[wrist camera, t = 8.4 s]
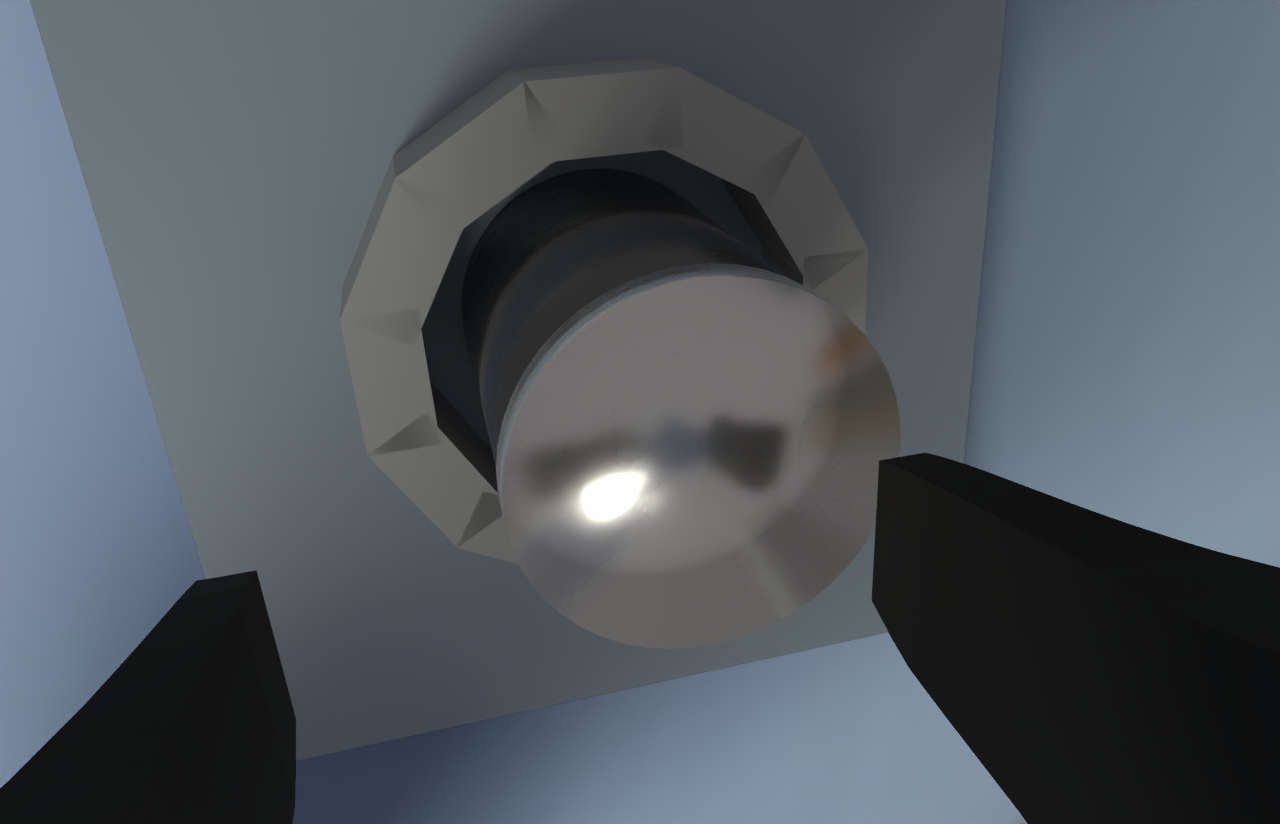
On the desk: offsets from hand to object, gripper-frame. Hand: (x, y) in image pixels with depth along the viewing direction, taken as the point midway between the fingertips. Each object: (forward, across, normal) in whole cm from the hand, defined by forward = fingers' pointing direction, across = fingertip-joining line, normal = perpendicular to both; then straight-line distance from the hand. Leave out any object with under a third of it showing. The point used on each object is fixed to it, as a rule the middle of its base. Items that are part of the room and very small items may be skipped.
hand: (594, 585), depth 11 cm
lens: (+8, -2, -1) cm, 8 cm away
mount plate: (+9, -2, 0) cm, 9 cm away
